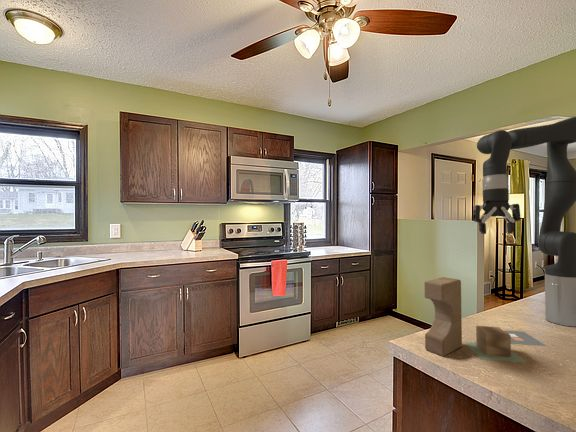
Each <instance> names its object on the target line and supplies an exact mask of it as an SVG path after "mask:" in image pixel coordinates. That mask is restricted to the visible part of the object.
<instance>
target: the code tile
mask: <svg viewBox="0 0 576 432" xmlns="http://www.w3.org/2000/svg"><path fill="white" fill-rule="evenodd" d="M503 330H504V329H503ZM504 331H505V332H507V333H508V334H509V335H511V345H526V346H539V347H540V346H541V347H547V344H545V343H544V342H541V341H540V340H538V339H536V338H534V337H533V336H531V335H529V334H528V333H527V332H525V331H517V330H504Z"/></svg>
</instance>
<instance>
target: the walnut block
mask: <svg viewBox="0 0 576 432" xmlns="http://www.w3.org/2000/svg"><path fill="white" fill-rule="evenodd" d="M475 329H476V330H475V335H476V337H475V338H476V339H475V341H476V342H475V343H476V346H477V347H478V348H479V349H480V350H481V351H482V352H483V353H485V354H486V355H488V356H501V357H511V351H512V347H511V346H512V344H511V335H509V334H508V333H507V332H505V331H506V330H505V331H504V329H502V328H500V327H499V326H490V325H489V326H488V325H487V326H483V325H476V326H475Z"/></svg>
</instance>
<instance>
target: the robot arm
mask: <svg viewBox="0 0 576 432" xmlns="http://www.w3.org/2000/svg"><path fill="white" fill-rule="evenodd" d="M575 143H576V116H572V117H568V118H566V119H563V120H559V121H557V122H554V123H551V124H542V125H539V126H531V127H523V128H515V129H512V130H508V131H507V130H504V129H499V130H496V131H494V132H491V133H489V134H488V133H487V134H485V135H483V136H481V137H480V138H479V139H478V140H477V143H476V149H477V150H478V152H479V153H481V154H484V155H490V157H489V158H487V159H486V160H485V161H483V163H482V183H481V184H482V188H481V189H482V202H483V204H482V205H479V204H476V205H475V204H474V205H473V207H472V209H473V210H472V222H475V223H478V227H479V229H478V230H479V232H480V233H481V235H485V234H487V223H486V222H487V221H488V219H490V218H491V217H492V218H493V217H502V218H503V219H504V220H505V221H506V233H507V234H514V232H515V222H519V221H521V217H522V216H521V209H520V204H519V203H513V204H510V202H509V200H510V197H509V196H510V193H509V190H510V189H509V178H508V168H507V167H508V160H509V157H510V152H511V150H520V149H524V148H530V147H531V148H532V147H535V146H539V145H543V144H546V150H547V151H546V154H547V167H546V169H547V170H546V180H545V190H544V205H543V213H542V221H541V223H540V224H541V225H540V229H539V233H538V241H537V243H538V249H539V250H540V252H541V253H542V254H544V255H547V256H553V257H557V262H555V263H552V264H548V265H545V267H544V303H545V313H544V315H545V320H546V321H548V322H550V323H551V324H552V323H553V324H556V325H559V326H566V327H576V232H574V231H562V230H561V227H562V222H563V219H564V218H565V215H566V214H567V213H568V212H569V210H571V208H572V207H573V206H574V205H575V203H576V169H575V168H574V166H573V165H572V164H571V163H570V161H569V159H568V145H570V144H575ZM482 210H483V213H482V215H481V212H482ZM509 210H510V211H511V213H512V214H511V213H510V212H509Z"/></svg>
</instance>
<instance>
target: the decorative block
mask: <svg viewBox="0 0 576 432" xmlns="http://www.w3.org/2000/svg"><path fill="white" fill-rule="evenodd" d="M423 283H424V286H423V287H424V298H425V299H428V300H430V301H431V302H432V304H433V306H434V319H433V322H432V325H431V327H430V328H429V330H428V331H427V332H426V333H424V349H425V350H426V351H427V352H430V353H433V354H436V355H437V356H440V357H445V356H446V355H448V354H450V353H452V352H454V351H456V350H458V349H459V348H461V347H462V346H463V333H462V332H463V331H462V328H463V327H462V325H463V324H462V322H463V321H462V280H461V279H457V278H450V277H447V276H445V277H444V276H442V277H438V278H433V279H431V280H425V281H424V282H423Z"/></svg>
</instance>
